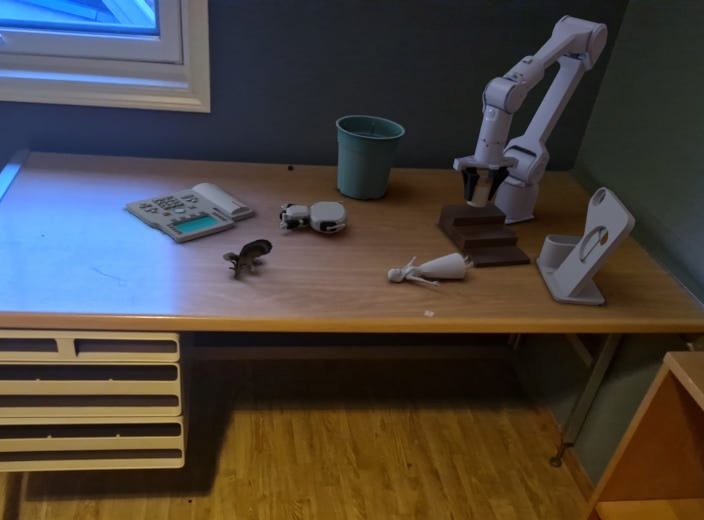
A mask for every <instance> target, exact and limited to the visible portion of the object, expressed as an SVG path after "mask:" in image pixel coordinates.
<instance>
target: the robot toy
mask: <svg viewBox="0 0 704 520" xmlns="http://www.w3.org/2000/svg"><path fill="white" fill-rule="evenodd" d="M344 202H345V200H340V201H318V202H315V203H314V204H313V205H312V206H311V207H310V208H309V206H307V205H298V204H295V203H290V202H289V203H288V204H287V203H284V204H282V205H281V206H280V207H281V208H280V209H281V210H282V211H281V212H280V213H279V219H280V221H282V222H280V223H279V225H278V226H279V228H280V229H282V230H285V229H286V230H289V231H290V230H294V229H300V228H306V227H308V226H309V225H310V226H311V227H312V229H314V230H315V231H317V232H319V233H323V234H328V235H329V234H333V233H337V232H340V231H341V230H343V229H344V228H345V227H346V226H347V221H348V211H347V210H346V209H347V208H346V207H345V206H344V205H342V204H343V203H344Z"/></svg>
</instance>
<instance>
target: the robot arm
mask: <svg viewBox="0 0 704 520" xmlns="http://www.w3.org/2000/svg"><path fill="white" fill-rule="evenodd" d="M607 38H608V27H607V25H606V24H605V23H597V22H594V21H591V20H585V19H581V18H577V17H573V16H571V15H568V14H567V15H564V16H563V17H561V18H560V19H559V20H558V21H557V22H556V23H555V24H554V28H553V30H552V34H551V37H550V38H549V39H548V40H547V41H546V42H545V43H544V45H542V46H541V47H540V48H539V50H538V51H537V52H536V53H535V54H533V55H526V56H525V57H523V58H522V59H521V60H520V61H519V62H518V63H517V64H515V65H514V66H513V67H512V68H511V69H509V71H507V72H505V74H504V75H503V76H502V77H500V76H498V77H495V78H493V79H490V81H489V82H488V83H487V84H486V86H485V89H484V91H483V92H482V105H483V106H482V115H483V118H482V123H481V127H480V130H479V135H478V139H477V143H476V148H475V152H474V154H473V155H468V156H464V157H460V158H459V157H458V158H454V162H453V165H452V167H453V168H454V170H455V171H459V172H461V177H462V180H463V181H462V182H463V198H464V200H465V201H466V202H467V201H468V202H471V200H472V197H473V193H474V189H475V186H476V184H477V182H478V180H479V178H480V175H481V174H479V173H478V169H479V170H480V169H481V170H482V169H483V170H485V169H488V171H487V172H488V173H487V177H489V178H491V179H492V180H493V184H492V186H491V189H490V193H489V197H488V200H487V202H489V201H492V199H493V197H494V195H495V194H496V195H495V199H494V202H493V203H494V204H495V205H496V206H497V207H498V208H499V209H500V210H501V211H502V212H503V213H505V214H506V215H507V216H506V219H505V223H504V224H505V225H510V224H515V223H518V222H519V223H520V222H523V221H528V220H532V219H535V215H533V213H534V210H535V207H536V204H537V200H538V196H539V194H540V187H539V182H540V181H541V179H542V178H543V176H544V174H545V172H546V167H547V165H548V163H549V160H550V153H549V151H548V149H547V147H546V142H547V141H548V139H549V137H550V135H551V133H552V131H553V130H554V128H555V126H556V124H557V123H558V121H559V120H560V117H561V115H562V113H563V112H564V111H565V108H566V106H567V105H568V103H569V101H570V99H571V98H572V96H573V94H574V93H575V90H576V89H577V87H578V85H579V83H580V82H581V80H582V78H583V77H584V74H585V73H586V72H587V71H590V70H592V69H593V68H594V65H595V64H596V63H597V61H598V59H599V57H600V55H601V54H602V52H603V50H604V48H606V47H605V46H606V44H607ZM555 62H557V63H559V65H560V66H559V71H558V73H557V74H556V76H555V78H554V79H553V81H552V83H551V85H550V87H549V89H548V90H547V92H546V94H545V96H544V98H543V100H542V101H541V103H540V105H539V107H538V108H537V111H536V112H535V114H534V115H533V118H532V120H531V121H530V123H529V125H528V127H527V129H526V130H525V132H524V134H522V135H521V136H518V137H514V138H511V139H510V141H509V142H508V144H507V145H506V143H507V139H508V136H509V131H510V128H511V124H512V120H513V116H514V113H516V112H517V111H518V110H519V109H520V108H521V106H522V105H523V102H524V100H525V99H526V98H527V96H528V93H529V91H530V90H532V89H533V88H534V87H535V86H536V85H537V84H539V82H541V81H542V80H543V78H544V76H545V70H546V69H547V68H549V67H550V66H552V65H553V64H554V63H555Z"/></svg>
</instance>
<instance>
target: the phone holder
mask: <svg viewBox="0 0 704 520" xmlns="http://www.w3.org/2000/svg"><path fill="white" fill-rule="evenodd" d="M635 223H636V218H635V217H634V216H633V214H632V213H631V212H630V211H629V210H628V209H627V207H626V206H625V204H623V202H621V200H620V199H619V198H618V197H617V195H616V194H615V192H613V191H612V190H611V189H608V188H607V187H603V186H602V187H600V188H598V189H597V190H596V191H595V192H594V194H593V195H592V196H591V198H590V200H589V202H588V206H587V213H586V219H585V227H584V232H583V233H584V234H583V236H575V235H564V234H563V235H561V234H548V235H547V236H546V237H545V240H544V243H543V246H542V248H541V252H540V255H539V257H537V258H536V261H535V264H536V266H537V267H538V269H539V271H540V274H541V275H542V278H543V279H544V281H545V283H546V285H547V287H548V290H549V292H550V293H551V295H552V297H553V299H554V300H555V301H556V302H558V303H561V304H562V303H563V304H575V305H585V306H586V305H587V306H599V305H601V306H603V305H604V304H605V298H604V296H603V295H602V293H601V291H600V290H599V288H598V286H597V285H596V283H595V282H594V279H593V277H594V276H595V275H596V274H597V273H598V272H599V271H600V269H601V268H602V267H603V266H604V264H605V263H606V262H607V261H608V260H609V259H610V258H611V256H612V255H613V254H614V253H615V251H616V250H617V249H619V248H618V247H620V245H621V244H622V243H623V242H624V241H625V239H626V238H627V237H628V236H629V234H630V233H631V232H632V231H633V229H634V227H635V225H636V224H635ZM606 234H607V240H606V242H605V243H603V244H601V242H602V240H603V238H604V237H605V235H606Z"/></svg>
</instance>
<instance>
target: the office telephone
mask: <svg viewBox="0 0 704 520" xmlns="http://www.w3.org/2000/svg"><path fill="white" fill-rule="evenodd" d="M125 207H126V208H125V209H126V210H127V211H128V212H130V213H131V214H132V215H134V216H135V217H137V218H138V219H140V220H141V221H143V222H144V223H145V224H147V225H148V226H150V227H152V228H157V229H159V230H161V231H162V232H164V233H165V234H167V235H168V236H169V237H171V238H172V239H174V240H175V242H176V243H182V242H183V243H184V242H187V241H190V240H193V239H194V240H195V239H197V238H201V237H205V236H207V235H212V234H215V233H218V232H221V231H225V230H227V229H231V228H234V226H235V222H236V221H240V220H243V219H247V218H251V217H253V216H254V215H253V214H254V210H253V209H252V208H250V206H248V205H246V204H245V203H243V202H241V201H239V199H237V198H236V197H234V196H233V195H231V194H229V193H228V192H226V191H224V190H223V189H222V188H220V187H219V186H217V185H216V184H214V183H210V182H209V183H208V182H202V183H198V184H196V185H195V186H193V187H192V188H191V187H190V188H188V189H183V190H180V191H175V192H171V193H166V194H163V195H158V196H154V197H150V198H146V199H142V200H137V201H131V202H128V203H125Z"/></svg>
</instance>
